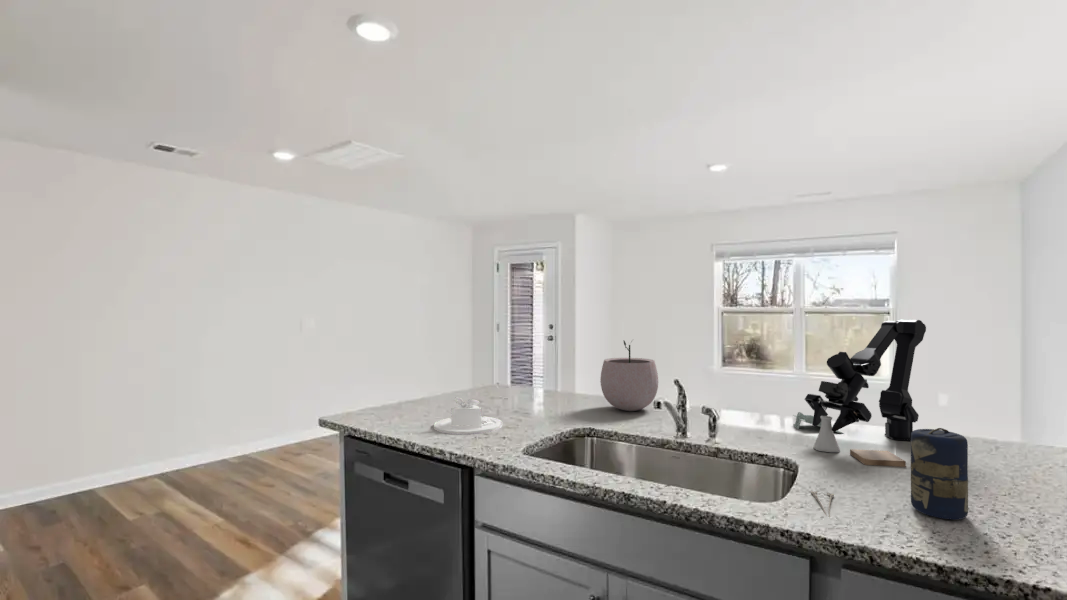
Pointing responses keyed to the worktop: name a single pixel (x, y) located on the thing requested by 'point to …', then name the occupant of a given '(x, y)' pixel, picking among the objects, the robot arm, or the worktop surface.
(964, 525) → the worktop surface
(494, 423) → the dish
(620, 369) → the plant pot
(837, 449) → the flask
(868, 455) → the walnut board
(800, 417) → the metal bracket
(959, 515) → the canister
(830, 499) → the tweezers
